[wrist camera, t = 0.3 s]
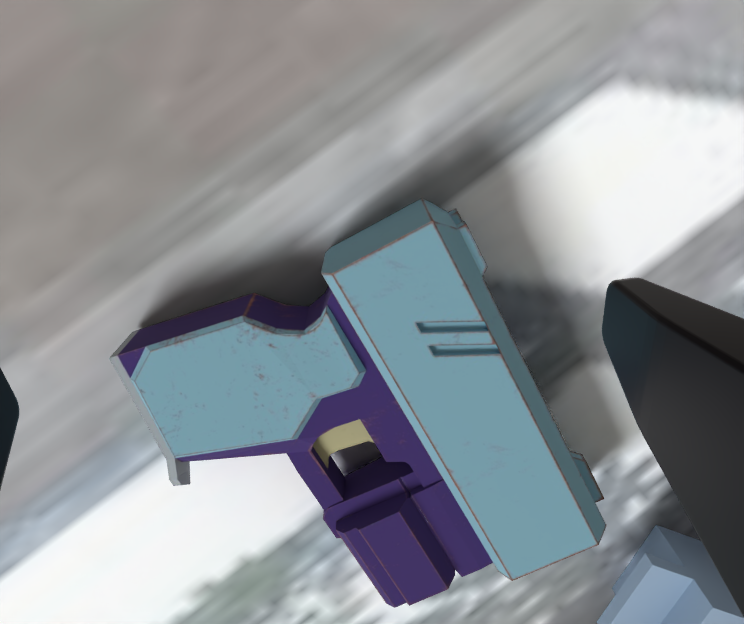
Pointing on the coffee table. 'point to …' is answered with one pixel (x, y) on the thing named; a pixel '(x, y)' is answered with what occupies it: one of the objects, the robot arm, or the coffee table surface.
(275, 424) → the pistol
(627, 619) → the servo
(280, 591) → the coffee table surface
